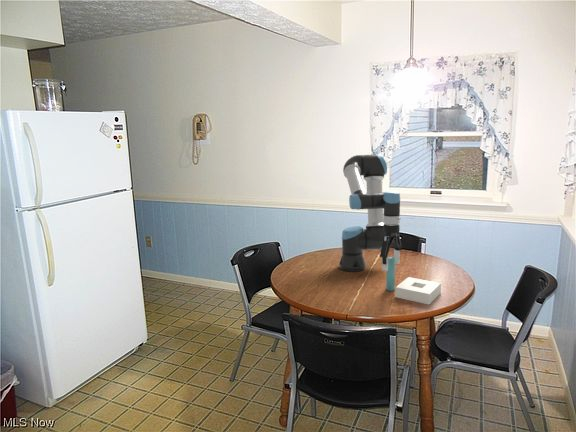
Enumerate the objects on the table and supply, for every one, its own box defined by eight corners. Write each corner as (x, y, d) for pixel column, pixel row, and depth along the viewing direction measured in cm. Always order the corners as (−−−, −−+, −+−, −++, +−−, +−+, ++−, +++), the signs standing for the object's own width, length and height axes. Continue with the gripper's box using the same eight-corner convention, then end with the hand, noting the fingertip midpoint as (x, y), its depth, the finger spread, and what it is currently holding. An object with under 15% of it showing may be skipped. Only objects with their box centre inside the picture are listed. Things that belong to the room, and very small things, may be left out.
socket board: (395, 297, 200) (395, 287, 199) (408, 286, 212) (408, 277, 211) (429, 304, 190) (429, 294, 189) (440, 293, 203) (441, 283, 202)
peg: (384, 289, 209) (385, 258, 206) (388, 287, 212) (388, 256, 209) (392, 291, 207) (393, 259, 204) (395, 288, 210) (396, 257, 207)
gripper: (387, 229, 191) (387, 275, 195) (409, 220, 210) (408, 261, 214) (372, 228, 195) (372, 272, 199) (394, 218, 215) (394, 259, 219)
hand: (391, 266), depth 207 cm, fingers open, 13 cm apart
